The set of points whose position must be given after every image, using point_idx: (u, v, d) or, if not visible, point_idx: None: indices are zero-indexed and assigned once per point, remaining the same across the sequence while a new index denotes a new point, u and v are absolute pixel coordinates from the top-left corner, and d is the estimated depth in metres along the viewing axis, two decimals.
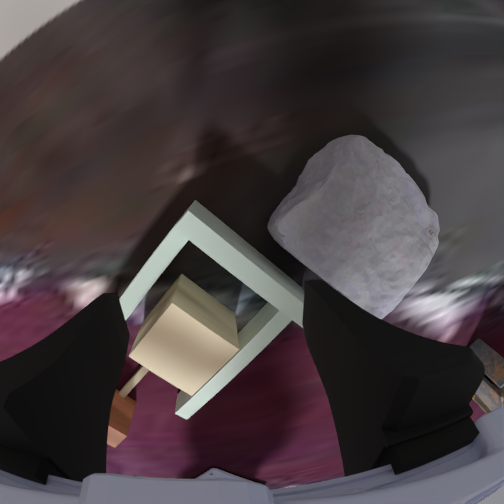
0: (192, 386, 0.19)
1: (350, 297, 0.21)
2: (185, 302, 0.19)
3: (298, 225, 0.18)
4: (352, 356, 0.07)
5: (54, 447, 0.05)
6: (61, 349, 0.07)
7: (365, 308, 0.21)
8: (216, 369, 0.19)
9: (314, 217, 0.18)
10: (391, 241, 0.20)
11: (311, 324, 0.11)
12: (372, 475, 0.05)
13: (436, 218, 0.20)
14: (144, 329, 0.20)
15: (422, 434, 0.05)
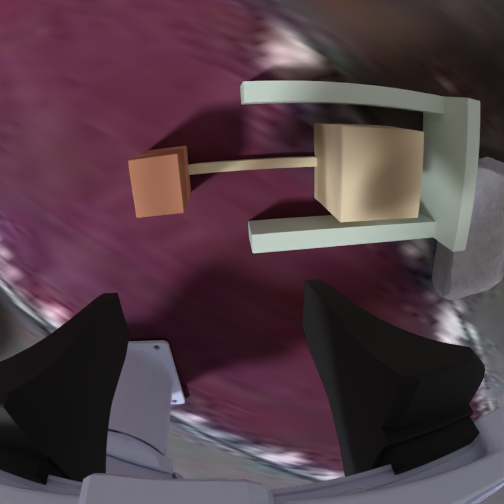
0: (353, 213, 0.16)
1: (454, 261, 0.21)
2: None
3: (485, 181, 0.17)
4: (352, 356, 0.07)
5: (54, 447, 0.05)
6: (61, 349, 0.07)
7: (454, 278, 0.21)
8: (388, 217, 0.16)
9: (495, 187, 0.17)
10: (495, 249, 0.21)
11: (311, 324, 0.11)
12: (372, 475, 0.05)
13: None
14: (353, 125, 0.16)
15: (422, 434, 0.05)
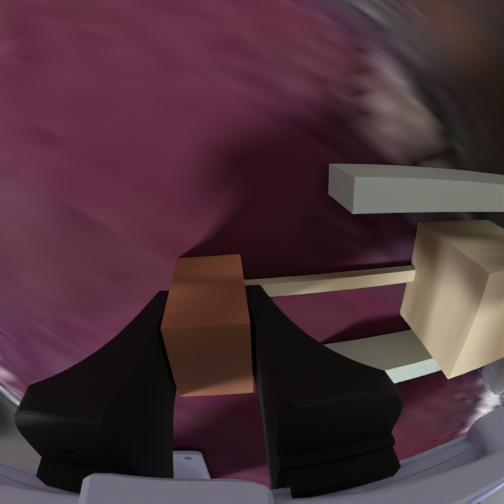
0: (464, 367, 0.10)
1: None
2: None
3: None
4: (263, 368, 0.07)
5: (141, 459, 0.05)
6: (137, 351, 0.07)
7: None
8: (493, 360, 0.11)
9: None
10: None
11: None
12: None
13: None
14: (483, 249, 0.10)
15: (324, 461, 0.05)
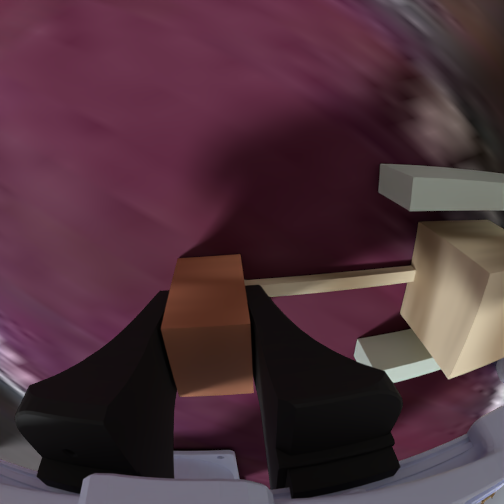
0: (464, 367, 0.10)
1: None
2: None
3: None
4: (263, 368, 0.07)
5: (141, 459, 0.05)
6: (137, 351, 0.07)
7: None
8: (493, 360, 0.11)
9: None
10: None
11: None
12: None
13: None
14: (483, 249, 0.10)
15: (324, 461, 0.05)
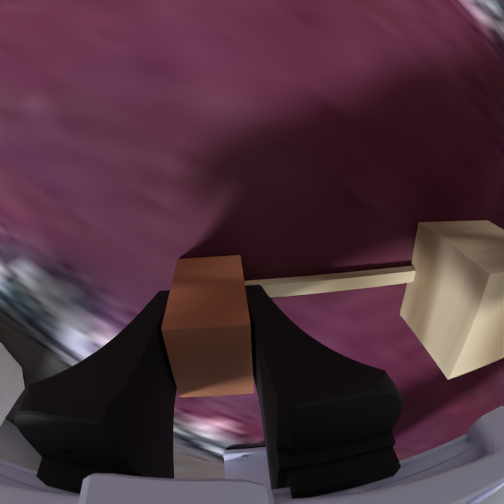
0: (464, 367, 0.10)
1: None
2: None
3: None
4: (263, 368, 0.07)
5: (141, 459, 0.05)
6: (137, 351, 0.07)
7: None
8: (493, 360, 0.11)
9: None
10: None
11: None
12: None
13: None
14: (482, 249, 0.10)
15: (325, 461, 0.05)
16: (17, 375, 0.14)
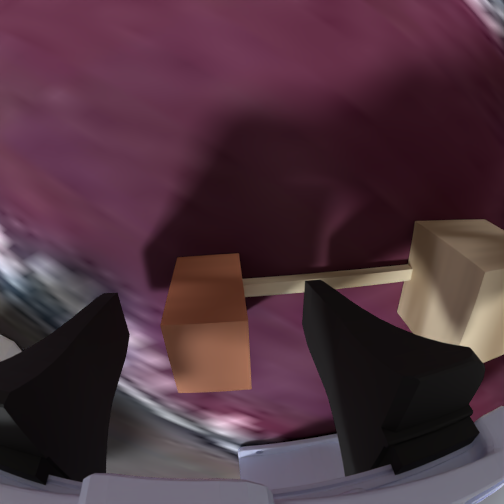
0: None
1: None
2: None
3: None
4: (352, 356, 0.07)
5: (54, 447, 0.05)
6: (61, 349, 0.07)
7: None
8: (490, 358, 0.11)
9: None
10: None
11: (311, 324, 0.11)
12: (372, 475, 0.05)
13: None
14: (478, 248, 0.10)
15: (422, 434, 0.05)
16: None
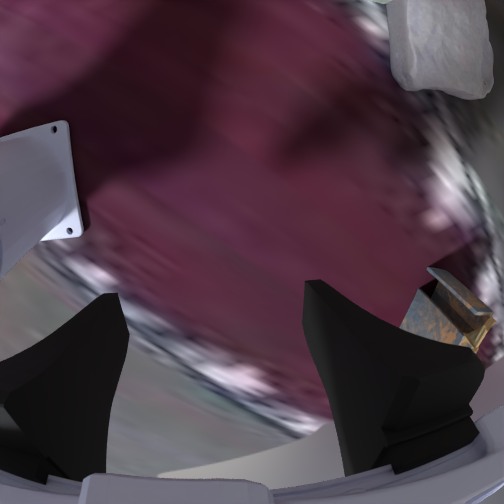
0: None
1: (410, 27, 0.14)
2: None
3: None
4: (352, 356, 0.07)
5: (54, 447, 0.05)
6: (61, 349, 0.07)
7: (415, 47, 0.14)
8: None
9: None
10: (464, 39, 0.14)
11: (311, 324, 0.11)
12: (372, 475, 0.05)
13: (492, 82, 0.16)
14: None
15: (422, 434, 0.05)
16: None
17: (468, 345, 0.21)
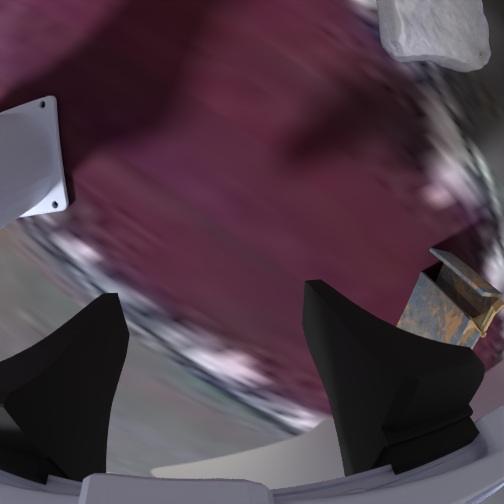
0: None
1: None
2: None
3: None
4: (352, 356, 0.07)
5: (54, 447, 0.05)
6: (61, 349, 0.07)
7: (402, 14, 0.13)
8: None
9: None
10: (455, 7, 0.12)
11: (311, 324, 0.11)
12: (372, 475, 0.05)
13: (489, 54, 0.14)
14: None
15: (422, 434, 0.05)
16: None
17: (475, 331, 0.19)
